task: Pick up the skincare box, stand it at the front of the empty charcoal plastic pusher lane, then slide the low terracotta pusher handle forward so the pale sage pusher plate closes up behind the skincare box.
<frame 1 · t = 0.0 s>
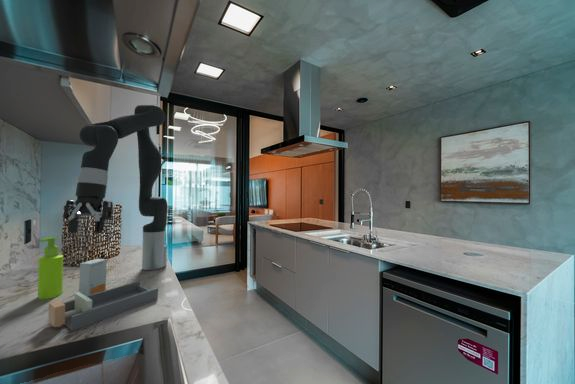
hand: (85, 232, 76), 22 cm above the worktop, tool pointing down, fingers open, 8 cm apart
pusher lane: (111, 307, 73), on the worktop
pusher: (69, 309, 64), point 3 cm above the worktop, slide at 0.0 cm
soap dispenser: (49, 296, 80), on the worktop
skincare box: (92, 296, 80), on the worktop
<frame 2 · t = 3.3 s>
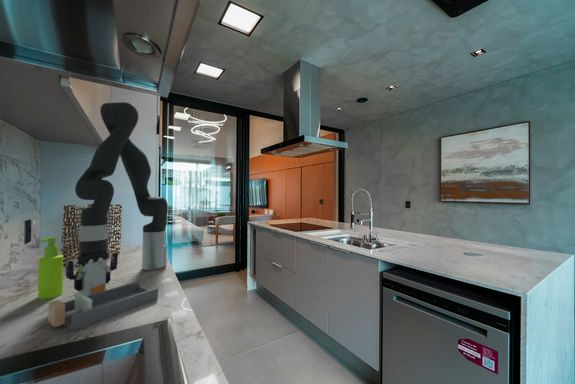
hand: (92, 286, 80), 3 cm above the worktop, tool pointing down, fingers closed on skincare box, 7 cm apart
skincare box: (92, 296, 80), on the worktop, touching gripper
everything else where it was.
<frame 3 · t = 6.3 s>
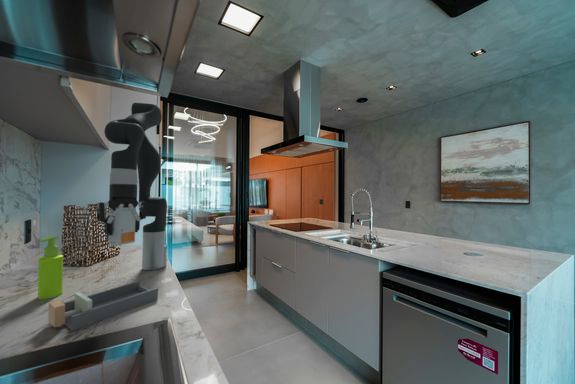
hand: (122, 233, 77), 22 cm above the worktop, tool pointing down, fingers closed on skincare box, 7 cm apart
skincare box: (122, 244, 77), point 19 cm above the worktop, touching gripper
everything else where it was.
when the fingers open (5 cm above the worktop, at t = 9.5 s): skincare box stays where it is, resting on pusher lane.
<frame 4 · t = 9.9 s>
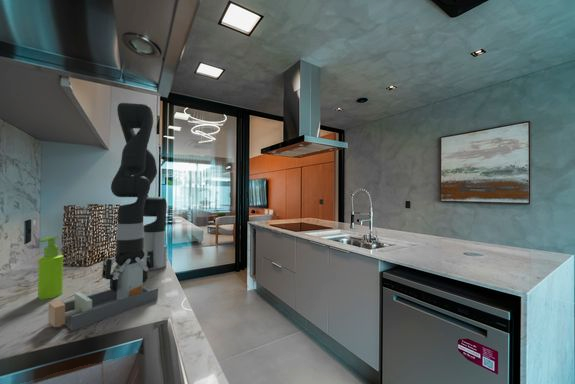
hand: (129, 286, 77), 5 cm above the worktop, tool pointing down, fingers open, 8 cm apart
skincare box: (130, 299, 77), resting on pusher lane
everything else where it was.
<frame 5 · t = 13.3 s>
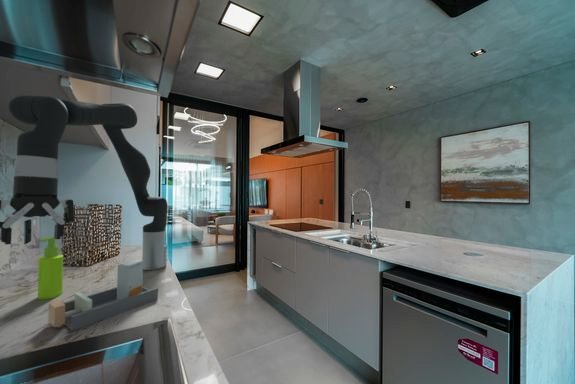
hand: (33, 241, 58), 23 cm above the worktop, tool pointing down, fingers open, 8 cm apart
nothing on the worktop moved.
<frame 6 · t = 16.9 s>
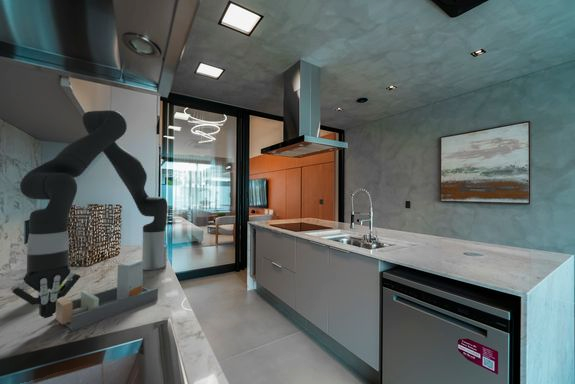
hand: (47, 316, 61), 3 cm above the worktop, tool pointing down, fingers closed
pusher: (76, 307, 66), point 3 cm above the worktop, slide at 1.5 cm, touching gripper
everything else where it was.
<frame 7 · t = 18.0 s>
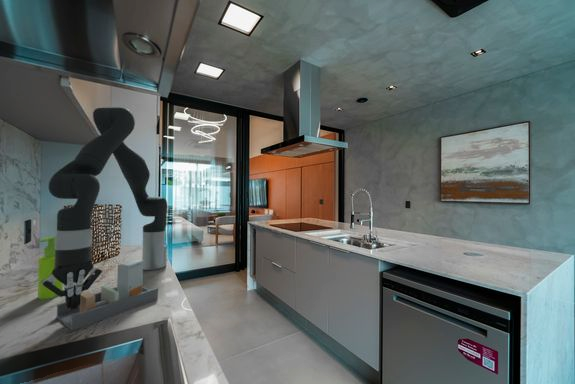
hand: (72, 308, 65), 3 cm above the worktop, tool pointing down, fingers closed
pusher: (97, 300, 70), point 3 cm above the worktop, slide at 6.5 cm, touching gripper
everything else where it was.
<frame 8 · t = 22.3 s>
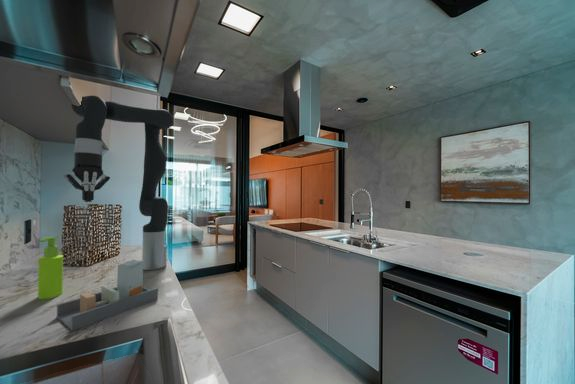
hand: (87, 201, 84), 32 cm above the worktop, tool pointing down, fingers closed
pusher: (98, 300, 70), point 3 cm above the worktop, slide at 6.6 cm
everything else where it was.
at the end: skincare box inside the target area on the pusher lane (0.2 cm from its centre), point 0.4 cm above the pusher lane's base; skincare box tilted 0°; pusher slide at 6.6 cm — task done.
